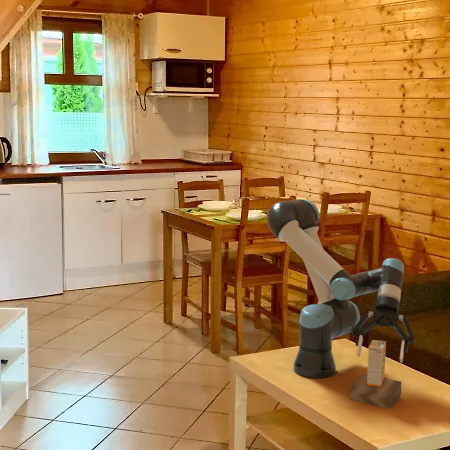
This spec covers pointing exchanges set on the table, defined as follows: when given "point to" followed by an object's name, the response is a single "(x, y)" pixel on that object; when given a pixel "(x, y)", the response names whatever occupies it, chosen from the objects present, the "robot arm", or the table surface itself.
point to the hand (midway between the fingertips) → (379, 357)
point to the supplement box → (376, 363)
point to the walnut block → (376, 392)
